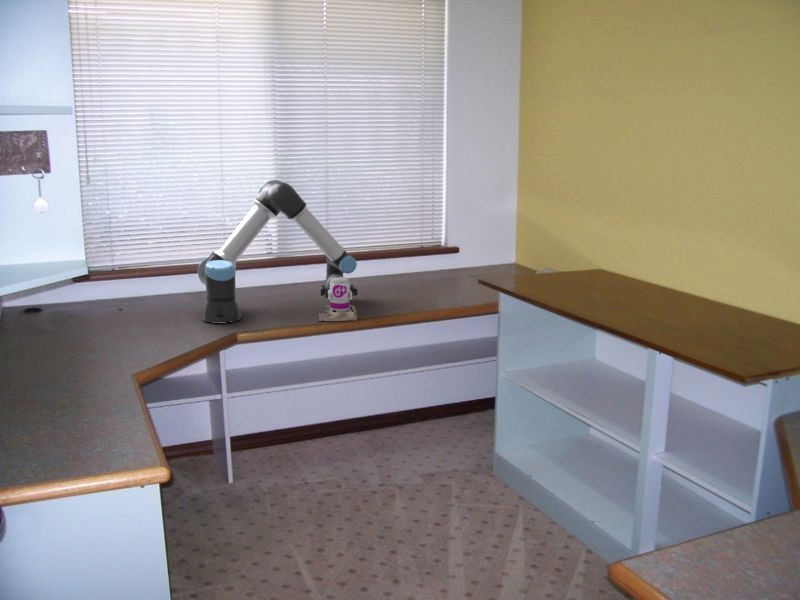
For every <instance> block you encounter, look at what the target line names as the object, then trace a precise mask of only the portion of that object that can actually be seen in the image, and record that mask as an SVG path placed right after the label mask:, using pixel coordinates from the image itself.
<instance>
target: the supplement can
mask: <svg viewBox="0 0 800 600" xmlns="http://www.w3.org/2000/svg"><path fill="white" fill-rule="evenodd" d="M350 285H351V282H350V281H349V278H348V277H344V276H343V277H334V278H331V281H330V293H331V300H329V305H330V313H332V312H349V305H350V298H349V291H350Z"/></svg>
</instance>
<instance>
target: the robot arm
mask: <svg viewBox="0 0 800 600" xmlns="http://www.w3.org/2000/svg"><path fill="white" fill-rule="evenodd" d="M253 202H254V203H253V204H254V205H253V206H252V207H251V209H250V210H249V211H248V212H247V214H246V215H245V216H244V218H243V219H242V220H241V222H240V223H239V224H238V225H237V227H236V228H235V229H234V230H233V232H232V233H231V234H230V235H229V236H228V238H227V239H226V241H225V242H224V243H223V244H222V245H221V247H220V248H219V249H217V250H213V251H212V252H211V254H209V257H207V258H205V259H203V260H201V262H200V263H199V265H198V268H197V275H198V278H199V281H200V282H201V283H202V284H203V285H204V286H205V290H206V291H205V292H206V293H205V295H206V296H205V297H206V301H205V302H206V303H205V305H204V310H203V313H202V321H203V320H204V321H203V322H205V321H208V322H230V321H235V320H238V319H240V318H241V319H242V315H241V314H242V313H241V310H240V308H239V306H238V302H237V297H236V295H237V293H236V287H237V286H236V269H237V265H236V263H237V261H238V260H239V259H240V258H241V256H242V255H243V254H244V253H245V251H246V250H247V249H248V247H249V246H250V245H251V244H252V243H253V241H254V240H255V239H256V238H257V236H258V235H259V234H260V232H261V231H262V230H263V228H264V227H265V226H266V225H267V224H268V222H269V221H270V219H273V218H277V217H278V216H279V214H280V213H282V214H283V215H284V216H285V217H286V218H287V219H288V220H290V221H293V222H294V223H295V224H296V225H297V226H298V227H299V228H300V229H301V231H302V232H303V233H304V234H305V235H306V236H307V237H308V238H309V239H310V240H311V241H312V242H313V244H315V246H316V247H318V248H319V250H320V251H321V252H322V253H323V254H324V255H325V256H326V276H325V282H326V284H327V285H324V284H322V285H321V287H320V288H321V289H320V296H321V297H323V296H324V298H326V299H328V300H329V301H330V300H331V293H330V281H331V278H334V277H344V274H346V275H347V274H348V275H349V274H352V273H354V271H356V268H357V261H356V259H355V258H354V257H353V256H351V255H349V254H348V252H347V251H346V250H345V249H344V247H343V246H342V245H341V244H340V243H339V242H338V241H337V240H336V239H335V237H333V235H332V234H331V233H330V232H329V231H328V229H326V228H325V226H323V225H322V223H321V222H320V221H319V220H318V218H316V217H315V215H314V214H313V213H312V212H311V211H310V210H309V209H308V207H307V203H306V202H305V201H304V199H303V198H302V197H301V196H300V194H299V193H298V192H297V190H295V188H294V187H293V186H291V185H290V184H289V183H287V182H285V181H284V182H283V181H280V180H279V179H278V180H277V179H271V180H268V181H265V182H264V183H263V184H262V185H261V186H260V188H259V191H258V194H257V195H256V197H255V198H254V199H253ZM354 296H358V289H357V288H356V287H355V286H354V284H350V291H349V298H350V300H353V297H354ZM241 319H240V320H241Z"/></svg>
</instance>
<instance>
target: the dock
mask: <svg viewBox="0 0 800 600" xmlns="http://www.w3.org/2000/svg"><path fill="white" fill-rule="evenodd" d="M349 310H352V312H332V313H327V318H344V317H357V318H358V311H357V309H356V306H355V304H349ZM324 311H325V312H326V311H330V304H329V305H325V310H324Z"/></svg>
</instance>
